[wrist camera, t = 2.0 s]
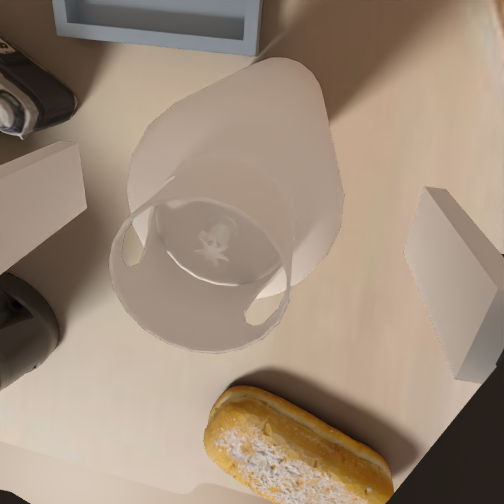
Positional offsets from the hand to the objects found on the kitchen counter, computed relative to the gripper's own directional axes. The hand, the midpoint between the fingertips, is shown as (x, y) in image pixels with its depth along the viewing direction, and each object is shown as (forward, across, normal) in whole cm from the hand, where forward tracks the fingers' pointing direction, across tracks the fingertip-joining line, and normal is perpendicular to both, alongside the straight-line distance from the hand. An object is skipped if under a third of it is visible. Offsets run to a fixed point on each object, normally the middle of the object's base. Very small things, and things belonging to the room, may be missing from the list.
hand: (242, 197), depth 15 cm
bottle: (+22, 0, 0) cm, 22 cm away
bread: (+22, +8, -43) cm, 49 cm away
